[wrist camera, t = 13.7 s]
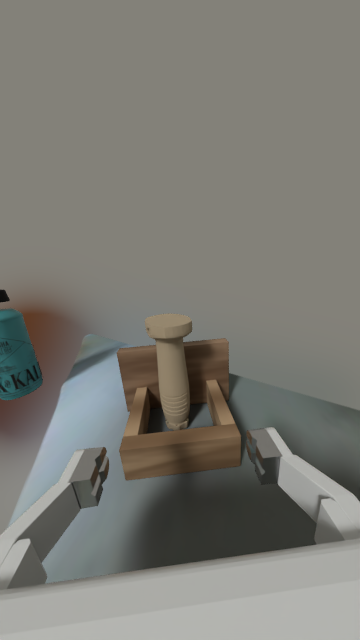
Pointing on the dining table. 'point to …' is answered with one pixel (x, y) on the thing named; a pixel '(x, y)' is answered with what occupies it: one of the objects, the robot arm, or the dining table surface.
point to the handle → (172, 366)
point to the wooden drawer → (205, 387)
